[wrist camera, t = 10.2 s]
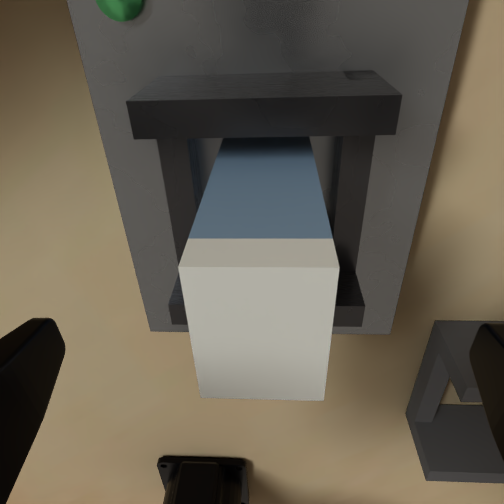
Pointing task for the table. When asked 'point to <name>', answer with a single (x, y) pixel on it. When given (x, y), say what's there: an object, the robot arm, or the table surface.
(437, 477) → the holster
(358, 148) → the port
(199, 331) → the plug
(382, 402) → the table surface
